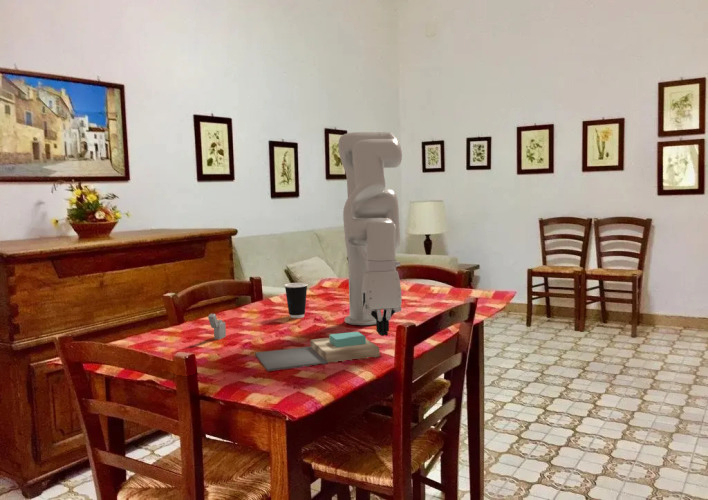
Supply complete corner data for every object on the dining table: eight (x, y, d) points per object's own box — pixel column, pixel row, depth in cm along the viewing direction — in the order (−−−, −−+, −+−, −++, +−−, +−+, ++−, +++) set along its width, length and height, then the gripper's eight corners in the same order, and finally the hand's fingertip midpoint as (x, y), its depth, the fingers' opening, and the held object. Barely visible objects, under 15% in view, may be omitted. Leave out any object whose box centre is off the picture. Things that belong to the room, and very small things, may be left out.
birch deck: (310, 348, 166) (310, 339, 166) (359, 343, 171) (359, 334, 170) (327, 363, 152) (326, 353, 152) (379, 356, 157) (379, 347, 156)
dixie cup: (313, 315, 209) (312, 283, 208) (300, 320, 202) (299, 287, 201) (294, 313, 213) (292, 282, 212) (280, 318, 206) (279, 285, 205)
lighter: (220, 336, 183) (219, 309, 182) (226, 336, 183) (224, 309, 182) (209, 341, 176) (207, 314, 175) (214, 342, 176) (213, 314, 175)
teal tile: (329, 341, 163) (329, 334, 163) (357, 338, 166) (357, 331, 165) (336, 347, 157) (336, 339, 157) (365, 343, 160) (365, 336, 160)
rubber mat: (255, 354, 162) (255, 352, 161) (310, 348, 167) (310, 346, 166) (267, 371, 147) (267, 369, 146) (327, 363, 152) (327, 361, 151)
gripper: (401, 263, 169) (402, 329, 170) (350, 266, 164) (351, 334, 165) (413, 266, 162) (414, 334, 163) (359, 269, 157) (361, 340, 158)
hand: (382, 334), depth 164 cm, fingers closed
